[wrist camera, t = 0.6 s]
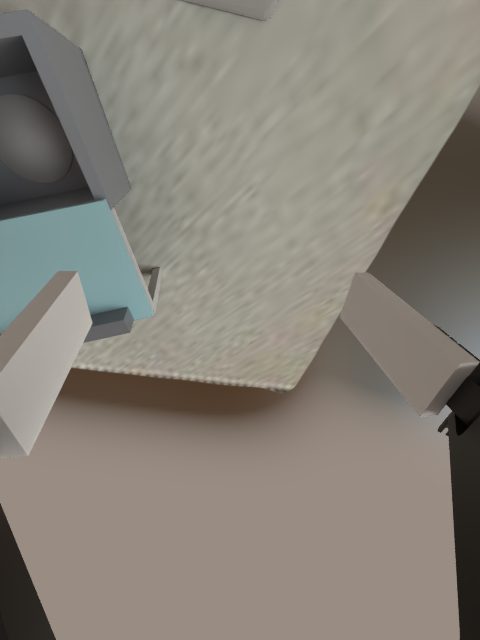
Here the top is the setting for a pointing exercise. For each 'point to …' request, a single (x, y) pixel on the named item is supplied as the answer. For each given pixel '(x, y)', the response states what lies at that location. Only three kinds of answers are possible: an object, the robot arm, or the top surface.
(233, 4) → the electrical switch
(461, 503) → the robot arm
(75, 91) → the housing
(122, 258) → the lid
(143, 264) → the top surface
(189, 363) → the top surface
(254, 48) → the top surface
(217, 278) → the top surface
